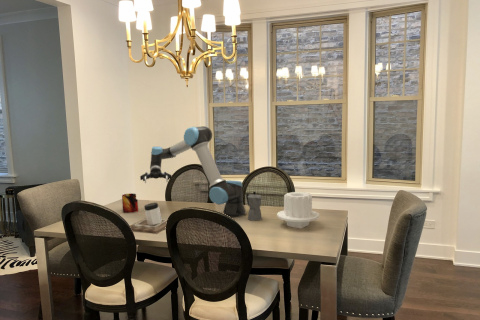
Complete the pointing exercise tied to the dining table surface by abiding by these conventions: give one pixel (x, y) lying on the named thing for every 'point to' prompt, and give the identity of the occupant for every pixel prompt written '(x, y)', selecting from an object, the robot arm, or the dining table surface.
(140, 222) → the board
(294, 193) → the ribbed cylinder on disc
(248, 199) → the coffeepot
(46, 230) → the dining table surface
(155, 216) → the jar
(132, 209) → the mug
